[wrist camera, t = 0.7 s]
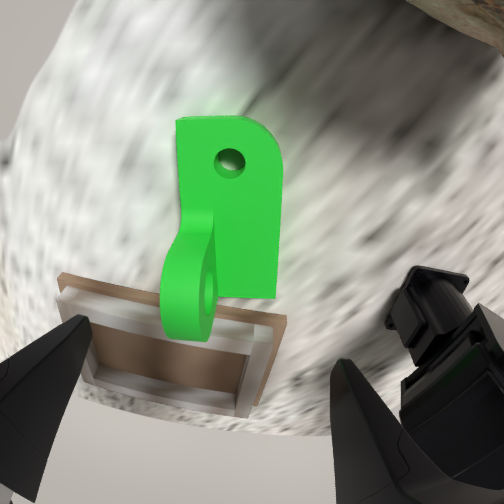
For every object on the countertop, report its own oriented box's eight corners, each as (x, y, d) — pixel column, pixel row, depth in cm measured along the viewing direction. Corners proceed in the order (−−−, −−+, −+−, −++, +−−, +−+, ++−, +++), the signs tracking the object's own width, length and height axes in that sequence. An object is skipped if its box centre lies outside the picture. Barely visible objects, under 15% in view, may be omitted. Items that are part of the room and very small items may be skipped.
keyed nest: (286, 315, 24) (288, 342, 22) (257, 398, 31) (256, 421, 28) (62, 272, 23) (45, 292, 21) (87, 362, 30) (77, 381, 27)
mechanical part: (274, 281, 23) (276, 365, 16) (196, 278, 23) (170, 358, 16) (283, 116, 17) (295, 136, 10) (184, 116, 17) (132, 139, 10)
